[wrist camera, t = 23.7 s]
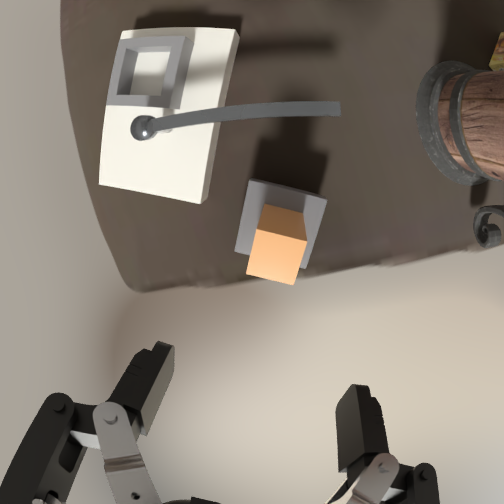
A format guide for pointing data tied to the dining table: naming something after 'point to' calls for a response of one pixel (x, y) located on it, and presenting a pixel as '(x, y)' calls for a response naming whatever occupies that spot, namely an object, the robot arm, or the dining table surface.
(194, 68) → the socket block
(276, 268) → the plug
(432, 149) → the tankard
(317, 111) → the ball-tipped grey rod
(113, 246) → the dining table surface
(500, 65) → the candy box
